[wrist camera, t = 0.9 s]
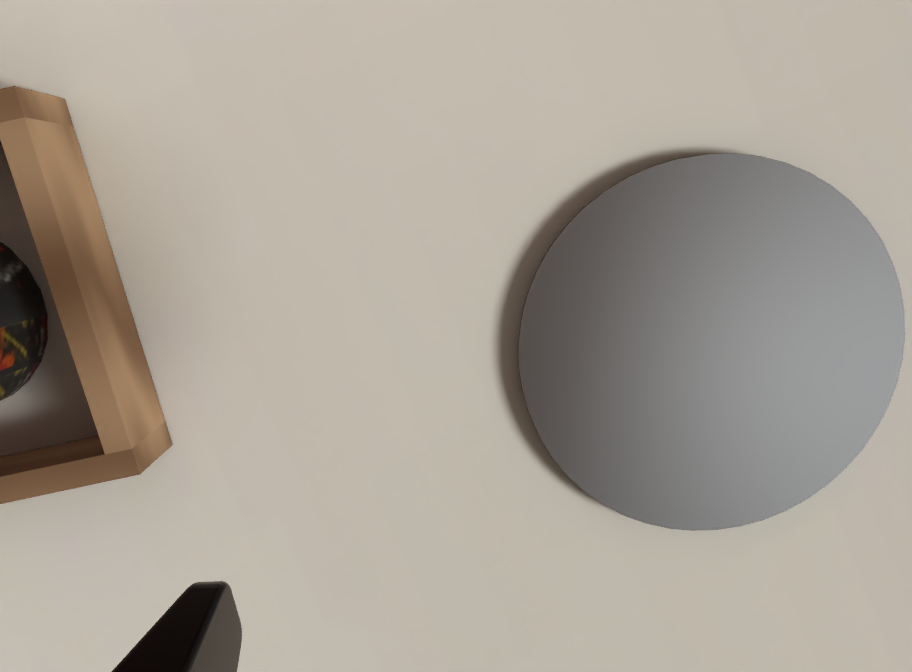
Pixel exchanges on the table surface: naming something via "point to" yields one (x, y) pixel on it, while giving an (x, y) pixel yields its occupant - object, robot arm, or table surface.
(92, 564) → the table surface
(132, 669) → the robot arm
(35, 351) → the deodorant
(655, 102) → the table surface
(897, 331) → the slate mat
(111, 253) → the wood frame
